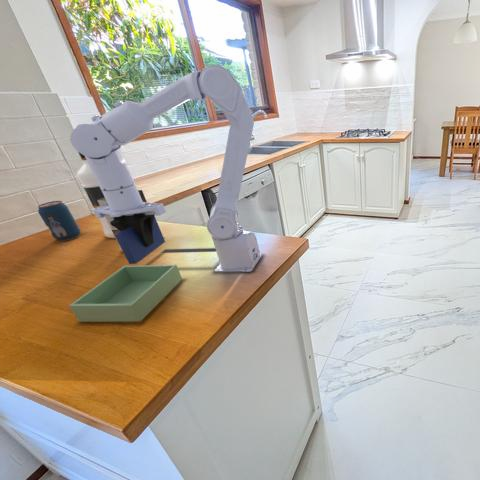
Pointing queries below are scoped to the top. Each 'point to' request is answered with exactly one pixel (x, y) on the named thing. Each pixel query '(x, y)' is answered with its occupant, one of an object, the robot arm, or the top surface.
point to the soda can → (59, 220)
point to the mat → (189, 250)
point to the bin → (127, 294)
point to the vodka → (93, 192)
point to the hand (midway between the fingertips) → (145, 244)
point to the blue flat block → (138, 243)
